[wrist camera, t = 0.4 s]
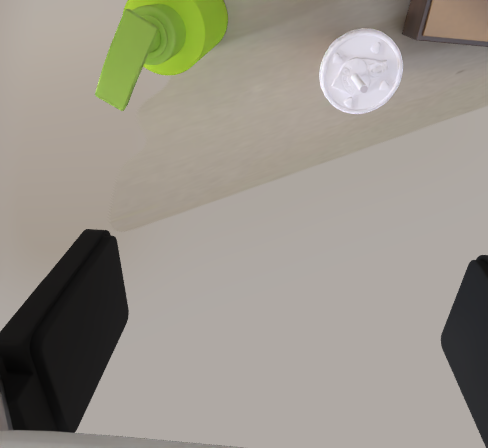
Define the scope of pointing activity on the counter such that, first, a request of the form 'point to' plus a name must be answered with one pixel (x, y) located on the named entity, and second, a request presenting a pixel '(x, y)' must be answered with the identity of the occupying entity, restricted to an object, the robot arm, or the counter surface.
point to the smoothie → (361, 71)
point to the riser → (448, 21)
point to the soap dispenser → (159, 42)
